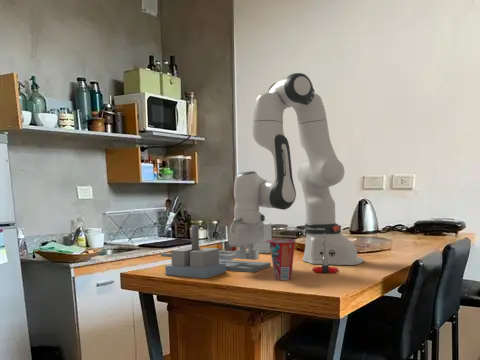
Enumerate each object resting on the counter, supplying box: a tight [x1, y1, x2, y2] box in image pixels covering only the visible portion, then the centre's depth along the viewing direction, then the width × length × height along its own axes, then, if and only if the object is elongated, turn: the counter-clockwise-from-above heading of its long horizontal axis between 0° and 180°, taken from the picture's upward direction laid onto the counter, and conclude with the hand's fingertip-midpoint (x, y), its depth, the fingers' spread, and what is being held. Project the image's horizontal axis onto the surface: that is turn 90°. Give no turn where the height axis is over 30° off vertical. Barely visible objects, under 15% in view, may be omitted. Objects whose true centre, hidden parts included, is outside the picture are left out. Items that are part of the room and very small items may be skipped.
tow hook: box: [312, 234, 339, 274], centre depth 160 cm, size 8×13×9 cm
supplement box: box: [253, 222, 273, 254], centre depth 207 cm, size 7×7×13 cm
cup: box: [265, 238, 297, 281], centre depth 147 cm, size 9×8×12 cm
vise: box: [160, 224, 226, 279], centre depth 160 cm, size 22×12×16 cm, turn 62°
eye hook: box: [219, 248, 260, 261], centre depth 169 cm, size 18×10×3 cm, turn 61°
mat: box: [219, 259, 272, 273], centre depth 170 cm, size 22×14×1 cm, turn 62°
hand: (247, 257), depth 167 cm, fingers closed on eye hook, 2 cm apart
